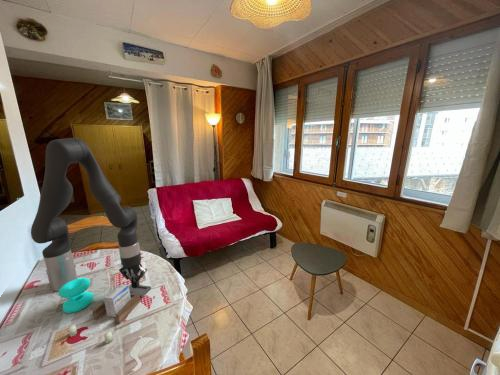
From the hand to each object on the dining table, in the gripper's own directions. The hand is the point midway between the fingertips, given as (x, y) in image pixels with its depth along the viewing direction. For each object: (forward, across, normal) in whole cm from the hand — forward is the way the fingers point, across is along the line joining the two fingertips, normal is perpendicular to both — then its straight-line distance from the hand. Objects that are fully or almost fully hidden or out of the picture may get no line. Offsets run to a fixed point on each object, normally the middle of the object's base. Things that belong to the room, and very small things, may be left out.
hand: (136, 287), depth 90 cm
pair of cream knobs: (+3, 0, -22) cm, 22 cm away
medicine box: (+3, 0, -9) cm, 10 cm away
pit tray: (+3, 0, 0) cm, 3 cm away
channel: (+3, 0, -10) cm, 10 cm away
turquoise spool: (+3, -19, -10) cm, 22 cm away
